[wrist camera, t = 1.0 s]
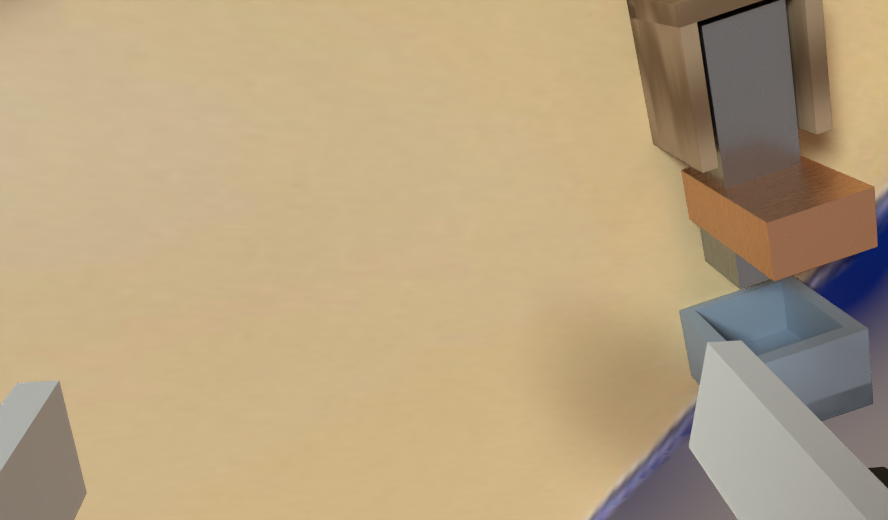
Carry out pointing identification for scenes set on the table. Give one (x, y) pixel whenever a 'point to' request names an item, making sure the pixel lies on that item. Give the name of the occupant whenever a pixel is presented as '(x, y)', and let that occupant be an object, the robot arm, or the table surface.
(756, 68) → the blue and tan block
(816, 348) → the grey rectangular block
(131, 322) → the table surface
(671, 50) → the sleeve
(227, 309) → the table surface
